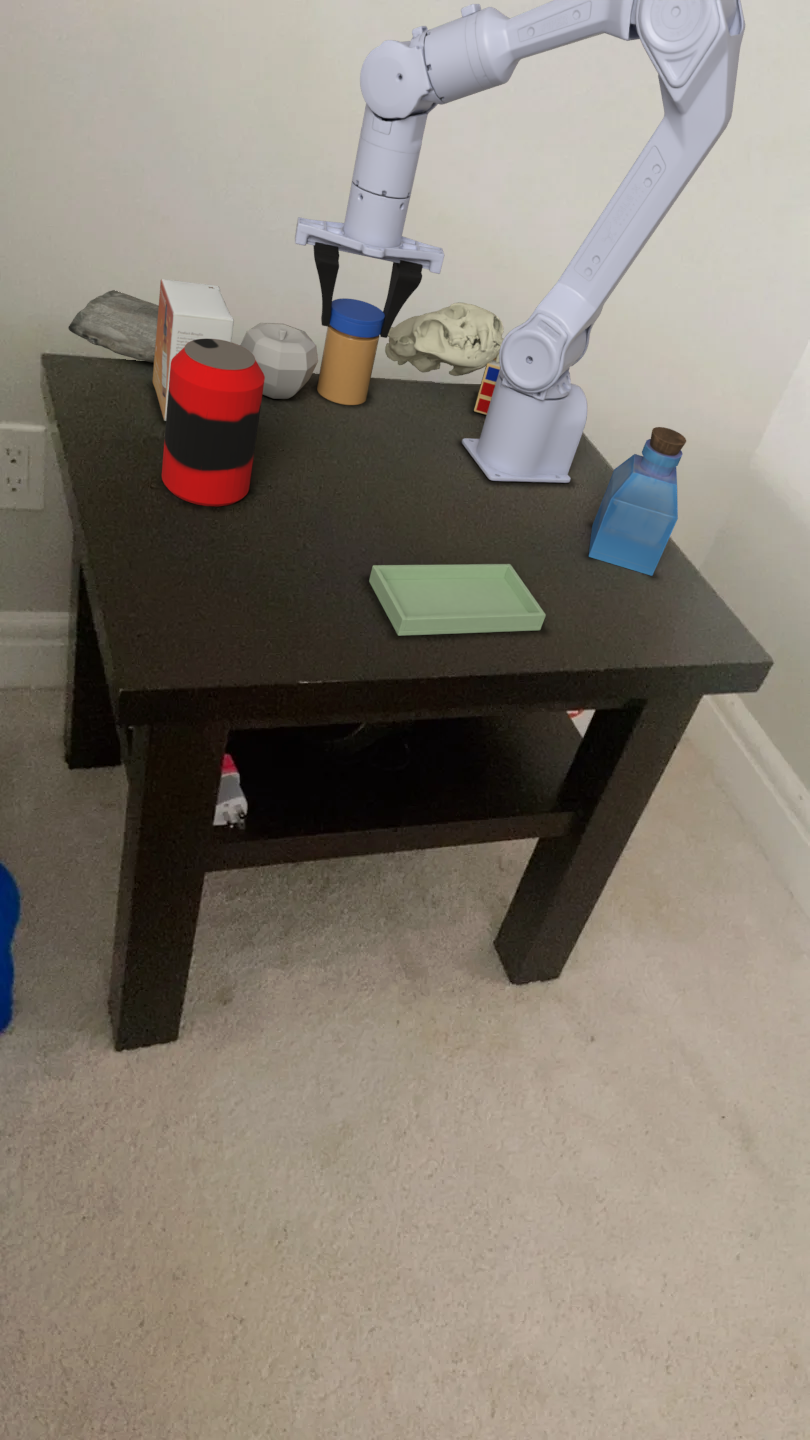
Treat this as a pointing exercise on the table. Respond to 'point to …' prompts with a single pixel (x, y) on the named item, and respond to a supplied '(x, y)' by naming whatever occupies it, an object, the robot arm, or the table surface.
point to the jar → (346, 367)
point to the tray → (455, 599)
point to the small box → (186, 325)
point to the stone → (119, 325)
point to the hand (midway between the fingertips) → (353, 328)
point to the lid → (356, 318)
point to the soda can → (211, 422)
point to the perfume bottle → (640, 505)
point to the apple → (282, 357)
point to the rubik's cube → (487, 387)
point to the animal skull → (447, 339)
